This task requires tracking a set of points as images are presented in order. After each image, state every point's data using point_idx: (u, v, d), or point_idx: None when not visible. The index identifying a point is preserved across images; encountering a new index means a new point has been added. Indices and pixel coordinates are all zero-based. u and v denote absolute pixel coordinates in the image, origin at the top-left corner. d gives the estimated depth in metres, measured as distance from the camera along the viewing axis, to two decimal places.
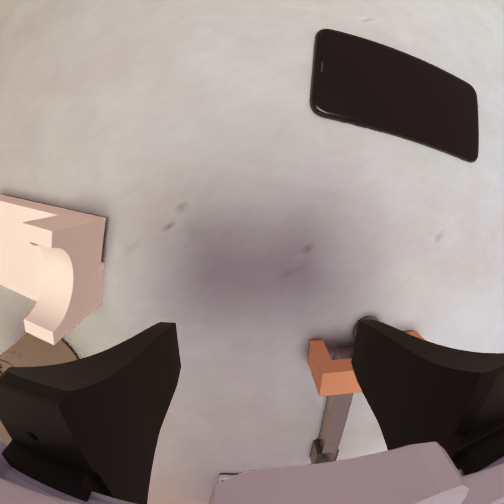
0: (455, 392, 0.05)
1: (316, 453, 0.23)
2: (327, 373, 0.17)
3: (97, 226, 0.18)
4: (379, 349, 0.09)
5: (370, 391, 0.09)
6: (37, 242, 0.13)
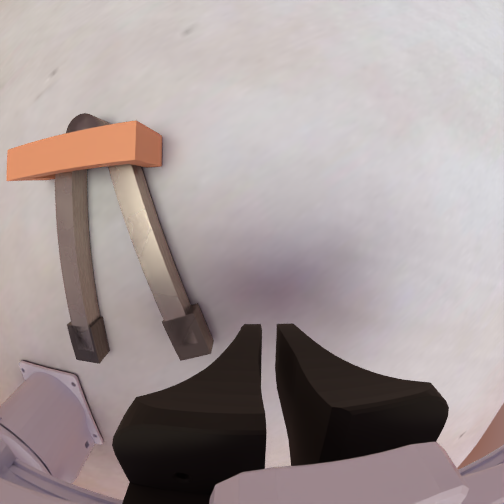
0: (318, 421, 0.04)
1: None
2: (10, 149, 0.12)
3: None
4: (285, 356, 0.09)
5: (283, 401, 0.09)
6: None
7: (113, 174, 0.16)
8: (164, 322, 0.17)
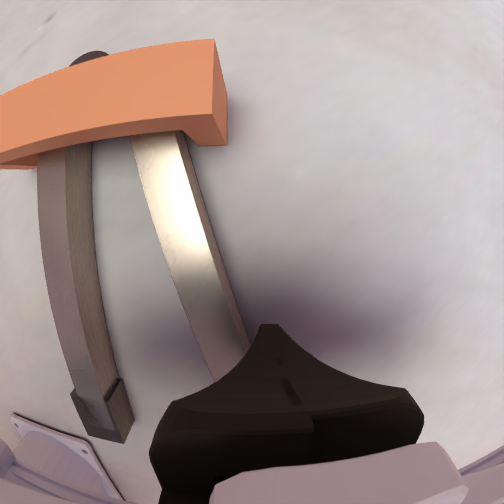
0: None
1: None
2: None
3: None
4: None
5: None
6: None
7: (140, 156, 0.09)
8: None
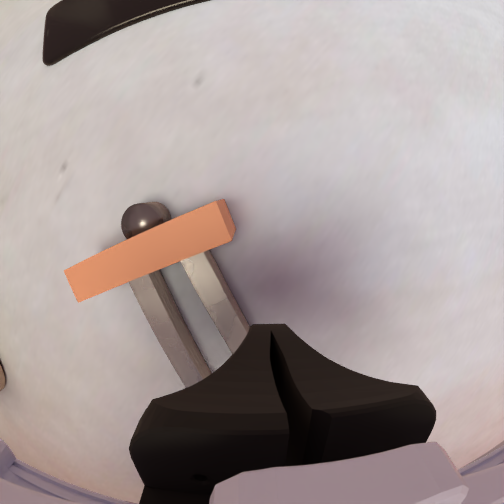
0: (301, 422, 0.04)
1: None
2: (67, 269, 0.14)
3: None
4: (275, 357, 0.09)
5: None
6: None
7: (187, 266, 0.17)
8: None
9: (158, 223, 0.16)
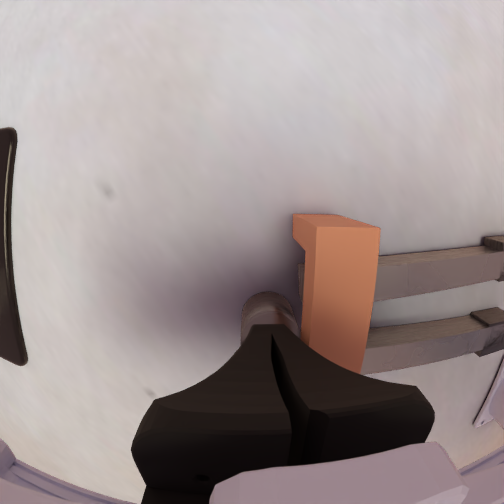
0: (299, 422, 0.04)
1: None
2: None
3: None
4: (274, 357, 0.09)
5: None
6: None
7: None
8: (499, 279, 0.12)
9: (281, 317, 0.11)
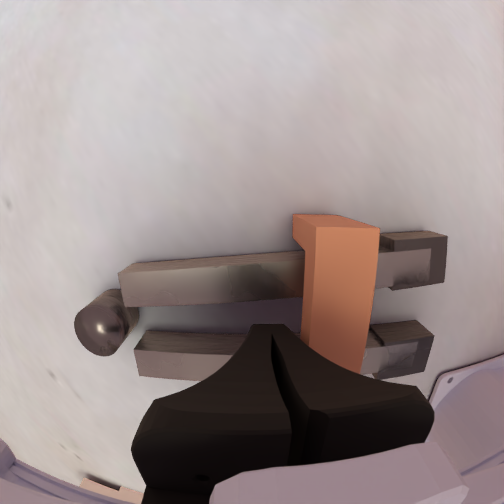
0: (299, 422, 0.04)
1: None
2: None
3: (84, 487, 0.15)
4: (274, 357, 0.09)
5: None
6: None
7: (165, 301, 0.11)
8: (393, 287, 0.11)
9: (98, 311, 0.11)
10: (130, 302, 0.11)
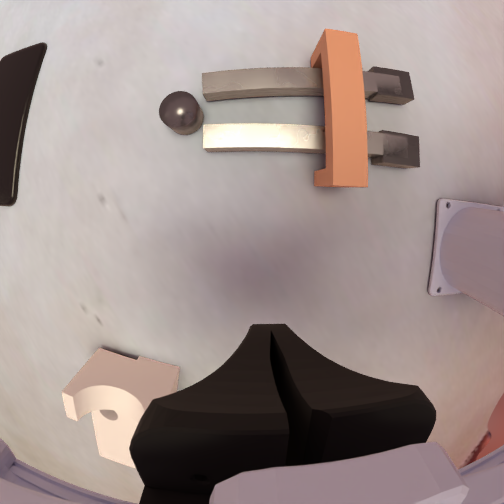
0: (301, 422, 0.04)
1: (384, 162, 0.17)
2: (333, 179, 0.15)
3: (98, 356, 0.20)
4: (275, 357, 0.09)
5: None
6: (74, 407, 0.15)
7: (233, 87, 0.16)
8: (378, 92, 0.16)
9: (184, 92, 0.15)
10: (208, 90, 0.16)
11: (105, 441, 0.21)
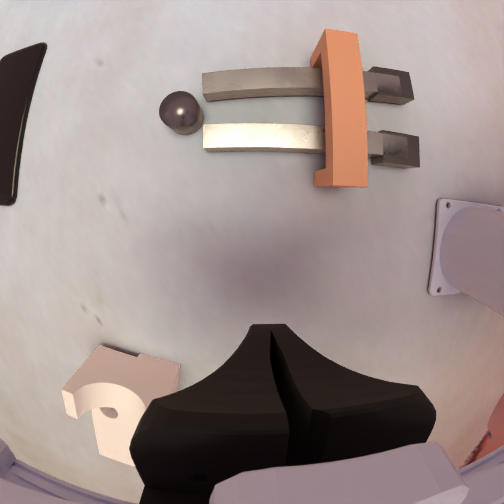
0: (301, 422, 0.04)
1: (384, 162, 0.17)
2: (333, 179, 0.15)
3: (98, 353, 0.20)
4: (275, 357, 0.09)
5: None
6: (74, 405, 0.15)
7: (233, 87, 0.16)
8: (378, 92, 0.16)
9: (184, 92, 0.15)
10: (208, 90, 0.16)
11: (105, 440, 0.20)
